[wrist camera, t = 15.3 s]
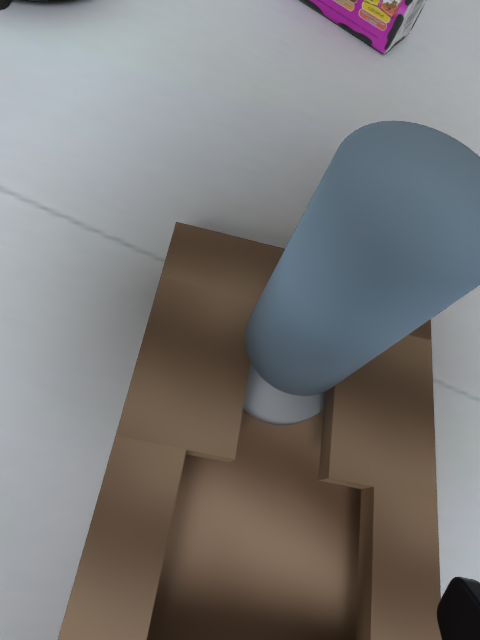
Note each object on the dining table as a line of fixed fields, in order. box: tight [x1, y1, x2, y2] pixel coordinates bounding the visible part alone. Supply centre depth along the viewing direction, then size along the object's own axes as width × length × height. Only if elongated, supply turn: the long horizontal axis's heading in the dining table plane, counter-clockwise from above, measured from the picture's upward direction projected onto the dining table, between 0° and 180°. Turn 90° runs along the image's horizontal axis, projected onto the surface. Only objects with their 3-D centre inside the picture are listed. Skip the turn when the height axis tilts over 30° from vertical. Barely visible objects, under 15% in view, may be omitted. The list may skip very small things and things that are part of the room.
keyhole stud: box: [243, 121, 480, 425], centre depth 16 cm, size 6×6×13 cm
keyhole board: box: [58, 222, 442, 640], centre depth 19 cm, size 20×13×4 cm, turn 171°
